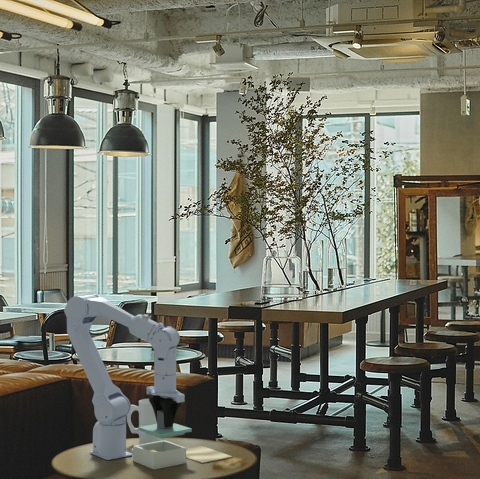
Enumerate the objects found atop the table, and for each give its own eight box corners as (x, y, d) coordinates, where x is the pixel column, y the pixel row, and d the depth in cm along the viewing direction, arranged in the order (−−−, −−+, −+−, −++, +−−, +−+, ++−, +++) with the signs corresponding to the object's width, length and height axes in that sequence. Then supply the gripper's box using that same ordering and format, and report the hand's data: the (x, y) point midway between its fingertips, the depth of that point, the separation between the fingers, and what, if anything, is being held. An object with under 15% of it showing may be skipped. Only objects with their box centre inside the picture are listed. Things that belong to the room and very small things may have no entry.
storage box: (133, 460, 239) (133, 445, 239) (164, 454, 245) (164, 440, 245) (153, 469, 231) (153, 453, 231) (186, 463, 238) (186, 447, 237)
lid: (138, 433, 240) (138, 410, 239) (169, 427, 246) (169, 405, 246) (160, 440, 232) (160, 416, 232) (191, 434, 238) (191, 411, 238)
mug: (163, 440, 261) (163, 398, 261) (161, 446, 255) (161, 403, 254) (128, 440, 261) (128, 398, 261) (125, 446, 255) (125, 403, 254)
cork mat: (172, 452, 248) (172, 451, 248) (201, 446, 254) (201, 445, 254) (202, 463, 237) (202, 462, 237) (232, 457, 243) (232, 456, 243)
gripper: (137, 371, 242) (136, 422, 242) (168, 379, 230) (168, 432, 231) (159, 368, 246) (158, 418, 246) (191, 376, 235) (190, 428, 235)
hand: (165, 425), depth 239 cm, fingers closed on lid, 3 cm apart
